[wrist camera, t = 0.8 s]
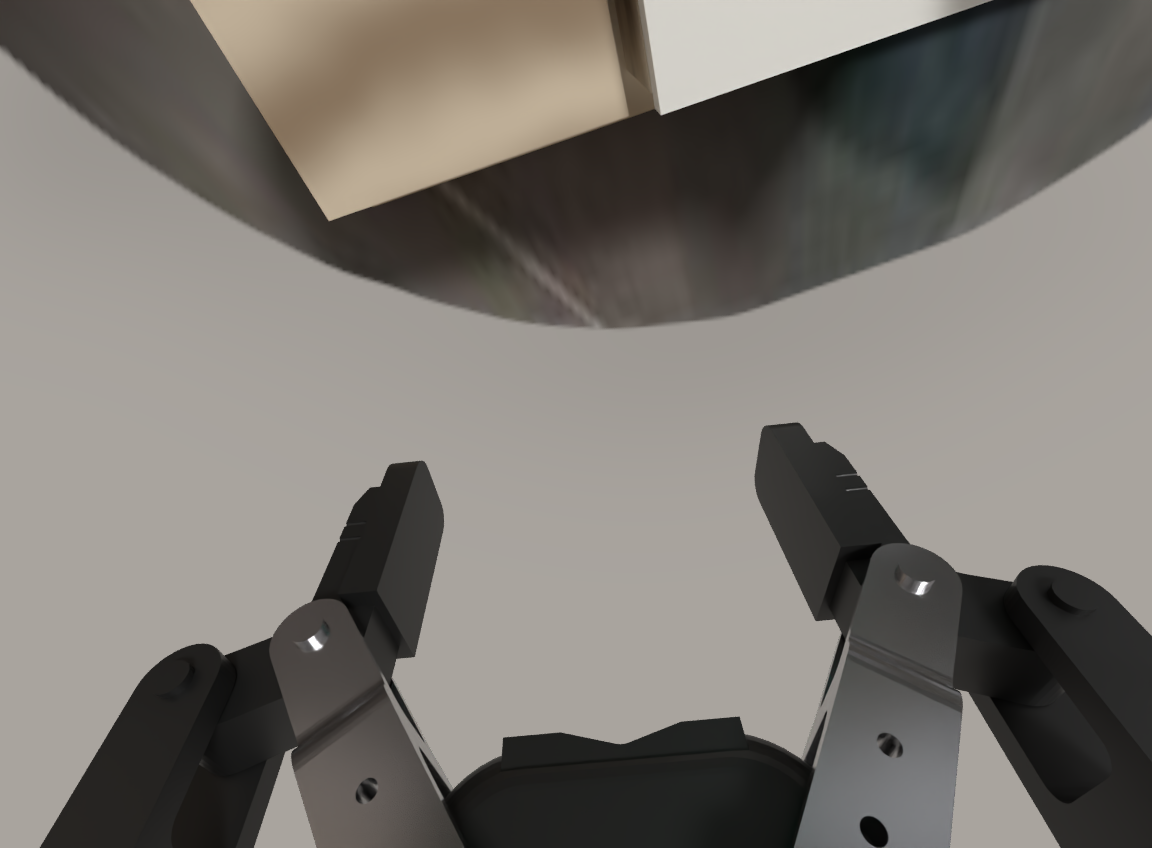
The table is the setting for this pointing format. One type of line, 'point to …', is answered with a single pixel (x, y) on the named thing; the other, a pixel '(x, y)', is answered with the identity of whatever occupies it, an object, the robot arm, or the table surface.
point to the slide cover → (762, 38)
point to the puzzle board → (428, 83)
